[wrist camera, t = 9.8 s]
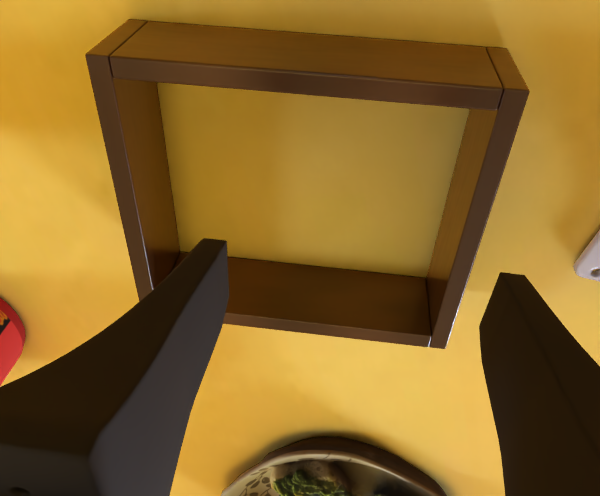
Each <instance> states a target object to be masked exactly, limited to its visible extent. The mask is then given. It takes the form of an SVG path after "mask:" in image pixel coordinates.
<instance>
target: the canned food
mask: <svg viewBox="0 0 600 496" xmlns="http://www.w3.org/2000/svg"><path fill="white" fill-rule="evenodd" d="M25 337H26V336H25V329H24V326H23V324H22V321H21V320H20V318H19V317H18V315H17V314H16V312H15V311H14V310H13V309H12V308H11V307H10V306H9V304H7V303H6V302H5V301H4V300H3V299H1V298H0V386H1V384H2V382H3V381H4V379H5V378H6V376H7V375H8V373H9V372H10V370H11V369H12V367H13V366H14V364H15V363H16V361H17V360H18V358H19V357H20V355H21V353H22V350H23V346H24V342H25Z"/></svg>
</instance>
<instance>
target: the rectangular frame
mask: <svg viewBox="0 0 600 496" xmlns="http://www.w3.org/2000/svg"><path fill="white" fill-rule="evenodd" d="M86 60H87V65H88V69H89V74H90V78H91V83H92V88H93V92H94V97H95V101H96V106H97V110H98V115H99V119H100V124H101V128H102V133H103V138H104V142H105V147H106V151H107V156H108V160H109V165H110V169H111V174H112V179H113V183H114V188H115V192H116V197H117V201H118V206H119V210H120V215H121V220H122V224H123V229H124V233H125V238H126V242H127V247H128V251H129V256H130V261H131V265H132V270H133V274H134V279H135V283H136V288H137V292H138V297H139V301H141V300H142V299H143V298H144V297H145V296H147V295H148V294H149V293H150V292H151V291H152V290H153V289H154V288H155V287H157V286H158V285H159V284H160V283H161V282H162V281H163V280H164V279H165V278H166V277H167V276H168V275H169V274H170V273H171V272H172V271H173V270H174V269H175V268H176V267H177V266H178V265H179V264H180V263H181V262H182V261H183V259H184V258H185V257H186V256H187V255H188V254H189V253H185V252H180V249H179V242H178V234H177V227H176V220H175V213H174V206H173V199H172V191H171V184H170V177H169V170H168V163H167V156H166V148H165V141H164V134H163V127H162V120H161V112H160V105H159V98H158V91H157V84H156V82H163V83H175V84H187V85H199V86H210V87H222V88H234V89H246V90H258V91H270V92H281V93H293V94H305V95H317V96H329V97H340V98H352V99H364V100H376V101H388V102H399V103H411V104H423V105H435V106H447V107H458V108H470V111H469V115H468V119H467V123H466V126H465V130H464V134H463V138H462V142H461V146H460V150H459V154H458V158H457V161H456V165H455V169H454V173H453V177H452V181H451V185H450V189H449V193H448V196H447V200H446V204H445V208H444V212H443V216H442V220H441V224H440V228H439V231H438V235H437V239H436V243H435V247H434V251H433V255H432V259H431V263H430V266H429V270H428V274H427V278H420V277H410V276H401V275H391V274H382V273H373V272H363V271H354V270H345V269H335V268H326V267H317V266H307V265H298V264H288V263H279V262H270V261H260V260H251V259H242V258H232V257H227V261H228V281H229V299H228V303H227V308H226V312H225V316H224V320H223V324H232V325H240V326H249V327H258V328H266V329H275V330H284V331H292V332H301V333H309V334H318V335H327V336H335V337H344V338H353V339H361V340H370V341H379V342H387V343H396V344H405V345H413V346H422V347H432V348H441V349H446V346H447V343H448V340H449V337H450V334H451V331H452V328H453V325H454V322H455V319H456V316H457V313H458V309H459V306H460V303H461V300H462V297H463V294H464V291H465V288H466V285H467V282H468V279H469V276H470V273H471V270H472V267H473V263H474V260H475V257H476V254H477V251H478V248H479V245H480V242H481V239H482V236H483V233H484V230H485V227H486V224H487V220H488V217H489V214H490V211H491V208H492V205H493V202H494V199H495V196H496V193H497V190H498V187H499V184H500V181H501V178H502V174H503V171H504V168H505V165H506V162H507V159H508V156H509V153H510V150H511V147H512V144H513V141H514V138H515V135H516V132H517V128H518V125H519V122H520V119H521V116H522V113H523V110H524V107H525V104H526V101H527V98H528V95H529V89H528V87H527V85H526V83H525V81H524V79H523V78H522V76H521V74H520V72H519V70H518V68H517V66H516V65H515V63H514V61H513V59H512V57H511V55H510V53H509V52H508V50H507V49H506V48H495V47H486V49H485V47H479V46H466V45H453V44H440V43H427V42H414V41H401V40H388V39H375V38H362V37H349V36H336V35H323V34H310V33H297V32H284V31H271V30H258V29H245V28H232V27H219V26H206V25H193V24H180V23H167V22H154V21H149V22H148V21H145V20H132V19H129V20H127V21H126V22H125V23H124V24H122V25H121V26H120V27H119V28H117V29H116V30H115V31H114V32H112V33H111V34H110V35H109V36H107V37H106V38H105V39H104V40H102V41H101V42H100V43H99V44H98V45H96V46H95V47H94V48H93V49H91V50H90V51H89V52H88V53H86Z"/></svg>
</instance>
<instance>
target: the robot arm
mask: <svg viewBox="0 0 600 496" xmlns="http://www.w3.org/2000/svg"><path fill="white" fill-rule="evenodd" d="M573 267H574V271H575V273H576V274H577V275H578V276H580V277H583V278H588V279H592V280H596V281H600V230H599V231H598V232H597V234H596V235H595V236H594V238H593V239H592V240H591V242H590V243H589V244H588V246H587V247H586V248H585V250H584V251H583V252H582V254H581V255H580V257H579V258H578V259H577V261H576V262H575V263H574V266H573ZM597 268H599V269H598V270H596V271H592V270H594V269H597ZM228 299H229V281H228V261H227V241H224V240H216V239H207V238H204V239H202V240H201V241H200V242H199V243H198V244H197V245H196V246H195V248H194V249H193V250H192V251H191V252H190V253H189V254H188V255H187V256H186V257H185V258H184V259H183V261H182V262H181V263H180V264H179V265H178V266H177V267H176V268H175V269H174V270H173V271H172V272H171V273H170V274H169V275H168V276H167V277H166V278H165V279H164V280H163V281H162V282H161V283H160V284H159V285H158V286H157V287H155V288H154V289H153V290H152V291H151V292H150V293H149V294H148V295H147V296H145V297H144V298H143V299H142V300H141V301H140V302H139V303H137V304H136V305H135V306H134V307H133V308H132V309H130V310H129V311H128V312H127V313H125V314H124V315H123V316H122V317H120V318H119V319H118V320H117V321H115V322H114V323H113V324H111V325H110V326H108V327H107V328H106V329H104V330H103V331H102V332H100V333H99V334H97V335H96V336H94V337H93V338H91V339H90V340H88V341H87V342H85V343H83V344H82V345H80V346H79V347H77V348H75V349H74V350H72V351H71V352H69V353H67V354H66V355H64V356H62V357H60V358H58V359H57V360H55V361H53V362H51V363H49V364H47V365H45V366H44V367H42V368H40V369H38V370H36V371H34V372H32V373H30V374H28V375H26V376H24V377H22V378H19V379H17V380H15V381H13V382H11V383H8V384H6V385H4V386H2V387H0V496H169V495H170V491H171V486H172V482H173V478H174V474H175V470H176V466H177V462H178V458H179V454H180V450H181V446H182V442H183V438H184V435H185V431H186V427H187V423H188V420H189V416H190V412H191V409H192V406H193V403H194V400H195V397H196V395H197V392H198V389H199V387H200V384H201V381H202V379H203V376H204V373H205V371H206V368H207V366H208V363H209V360H210V358H211V355H212V352H213V350H214V347H215V344H216V342H217V339H218V336H219V334H220V331H221V328H222V324H223V320H224V316H225V312H226V308H227V303H228ZM479 329H480V346H481V357H482V364H483V369H484V374H485V379H486V384H487V388H488V393H489V398H490V402H491V407H492V411H493V416H494V421H495V425H496V430H497V434H498V439H499V445H500V451H501V457H502V467H503V476H504V486H505V496H600V366H599V365H598V364H597V363H596V362H595V361H594V360H593V359H592V358H591V357H590V355H589V354H588V353H587V352H586V351H585V350H584V349H583V348H582V347H581V345H580V344H579V343H578V342H577V341H576V340H575V338H574V337H573V336H572V335H571V334H570V333H569V331H568V330H567V329H566V328H565V326H564V325H563V324H562V323H561V322H560V320H559V319H558V318H557V317H556V315H555V314H554V313H553V311H552V310H551V309H550V308H549V306H548V305H547V304H546V302H545V301H544V300H543V299H542V297H541V296H540V295H539V293H538V292H537V291H536V289H535V288H534V287H533V285H532V284H531V283H530V282H529V280H528V279H527V278H526V277H525V275H519V274H510V273H502V272H500V274H499V277H498V280H497V282H496V285H495V287H494V290H493V292H492V295H491V298H490V300H489V303H488V305H487V308H486V310H485V313H484V315H483V318H482V321H481V323H480V326H479Z"/></svg>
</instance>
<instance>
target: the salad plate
mask: <svg viewBox="0 0 600 496" xmlns="http://www.w3.org/2000/svg"><path fill="white" fill-rule="evenodd" d="M221 496H447V495H446V494H445V493H444V491H443V490H442V488H441V487H440V486H439V485H438V484H437V483H436V482H435V481H434V480H433V479H431V478H430V477H428V476H427V475H425V474H424V473H423V472H421V471H420V470H418V469H416V468H415V467H413V466H412V465H410V464H409V463H407V462H406V461H404V460H403V459H401V458H400V457H398V456H396V455H394V454H392V453H390V452H388V451H385V450H383V449H381V448H378V447H376V446H373V445H370V444H367V443H363V442H359V441H356V440H351V439H347V438H342V437H317V438H311V439H307V440H303V441H300V442H297V443H294V444H292V445H289V446H286V447H283V448H280V449H277V450H275V451H273V452H271V453H269V454H268V455H267V456H265V458H264V459H263V460H262V461H261V462H260V463H258V464H257V465H255V466H253V467H252V468H250V469H249V470H247V471H245V472H243V473H242V474H241V475H240V476H239V477H238V478H237V479H236V480H235V481H234V482H233V483H232V484H231V485H230V486H228V487H227V488H225V489H224V490H223V491H222V494H221Z"/></svg>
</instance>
